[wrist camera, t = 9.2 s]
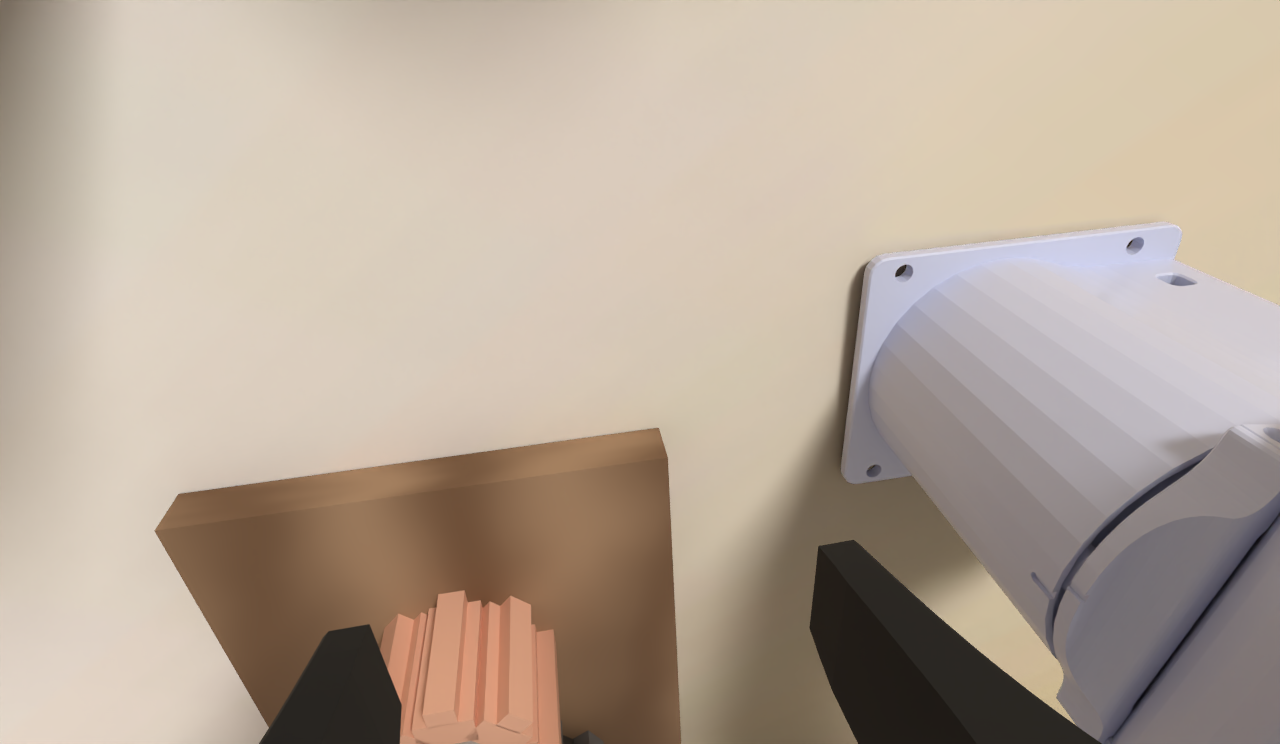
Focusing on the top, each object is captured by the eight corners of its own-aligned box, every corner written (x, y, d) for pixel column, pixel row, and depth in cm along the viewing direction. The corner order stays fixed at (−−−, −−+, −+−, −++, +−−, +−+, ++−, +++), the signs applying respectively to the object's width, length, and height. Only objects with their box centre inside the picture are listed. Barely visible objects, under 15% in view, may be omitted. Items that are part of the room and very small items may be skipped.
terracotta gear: (543, 577, 21) (548, 693, 18) (564, 689, 24) (571, 806, 21) (356, 607, 21) (324, 732, 17) (401, 718, 24) (381, 844, 20)
